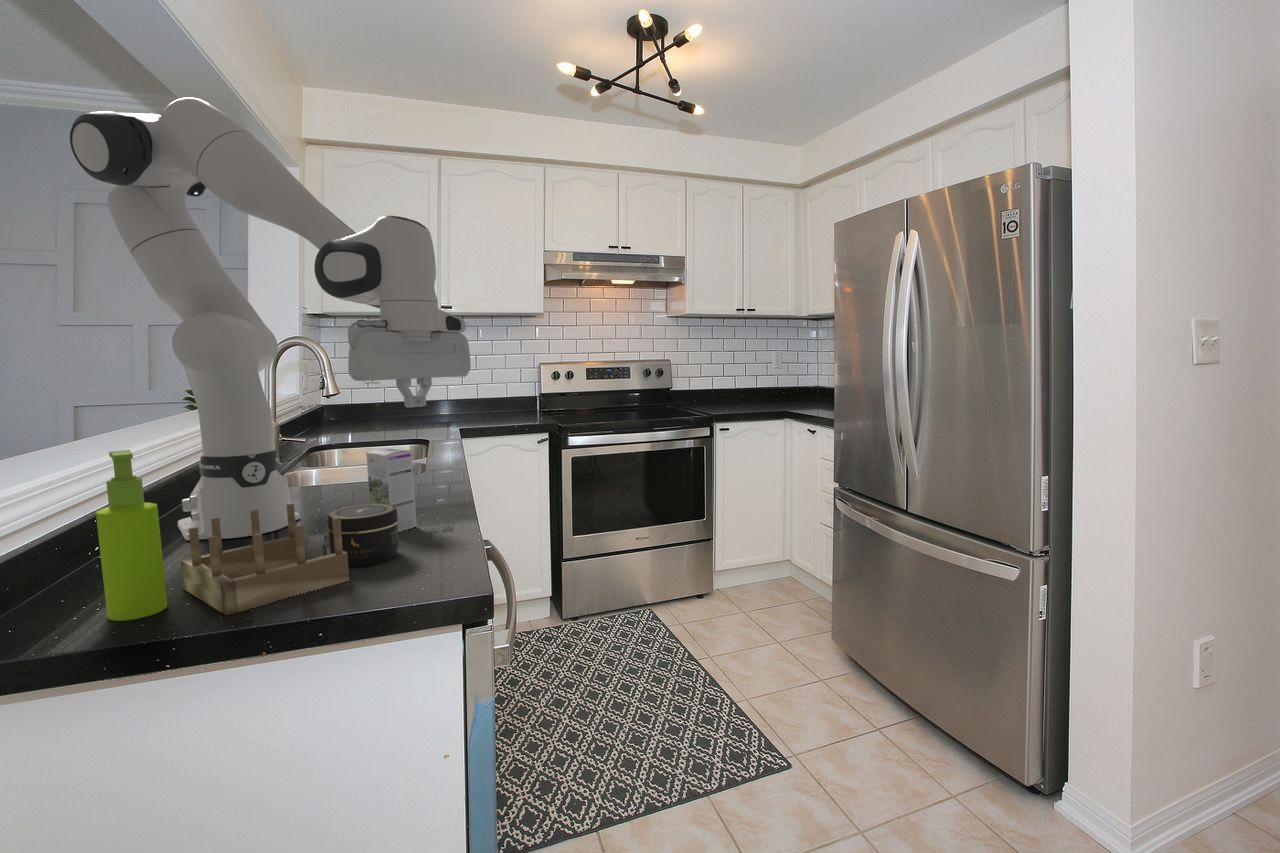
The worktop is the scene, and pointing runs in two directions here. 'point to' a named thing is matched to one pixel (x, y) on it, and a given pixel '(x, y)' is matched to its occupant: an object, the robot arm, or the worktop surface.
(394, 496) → the syrup box
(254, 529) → the dish rack
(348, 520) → the jar
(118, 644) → the worktop surface
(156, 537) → the soap dispenser
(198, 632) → the worktop surface
